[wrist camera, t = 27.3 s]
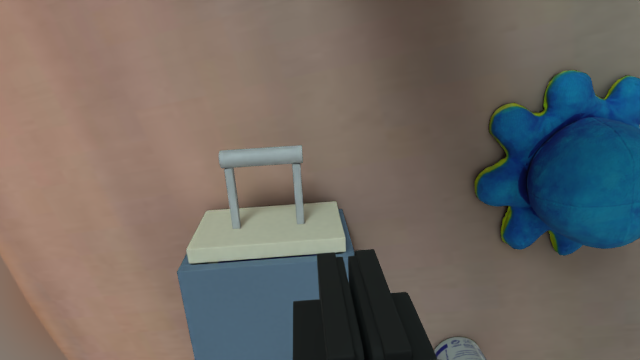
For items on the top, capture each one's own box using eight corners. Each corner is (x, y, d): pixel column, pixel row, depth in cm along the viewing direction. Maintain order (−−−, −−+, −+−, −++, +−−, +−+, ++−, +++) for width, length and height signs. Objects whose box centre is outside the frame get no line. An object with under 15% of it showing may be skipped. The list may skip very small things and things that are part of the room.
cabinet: (203, 218, 35) (176, 271, 27) (342, 208, 36) (356, 257, 28) (225, 346, 40) (207, 423, 32) (346, 336, 41) (359, 409, 33)
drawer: (194, 140, 32) (169, 165, 26) (333, 131, 32) (342, 154, 26) (226, 334, 39) (213, 392, 32) (341, 324, 39) (350, 380, 33)
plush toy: (455, 243, 38) (497, 296, 30) (501, 60, 32) (568, 67, 24) (615, 254, 39) (694, 307, 31) (685, 82, 34) (803, 94, 26)
